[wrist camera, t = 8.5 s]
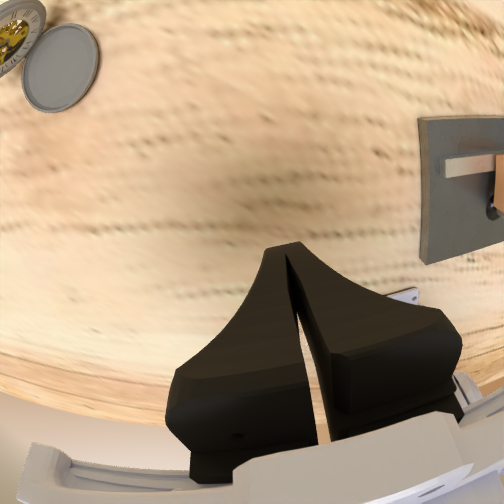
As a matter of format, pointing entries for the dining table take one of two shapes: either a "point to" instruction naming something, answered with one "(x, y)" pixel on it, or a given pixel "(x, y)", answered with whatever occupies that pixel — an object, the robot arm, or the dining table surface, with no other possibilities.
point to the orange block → (499, 185)
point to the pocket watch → (47, 56)
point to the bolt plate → (459, 185)
